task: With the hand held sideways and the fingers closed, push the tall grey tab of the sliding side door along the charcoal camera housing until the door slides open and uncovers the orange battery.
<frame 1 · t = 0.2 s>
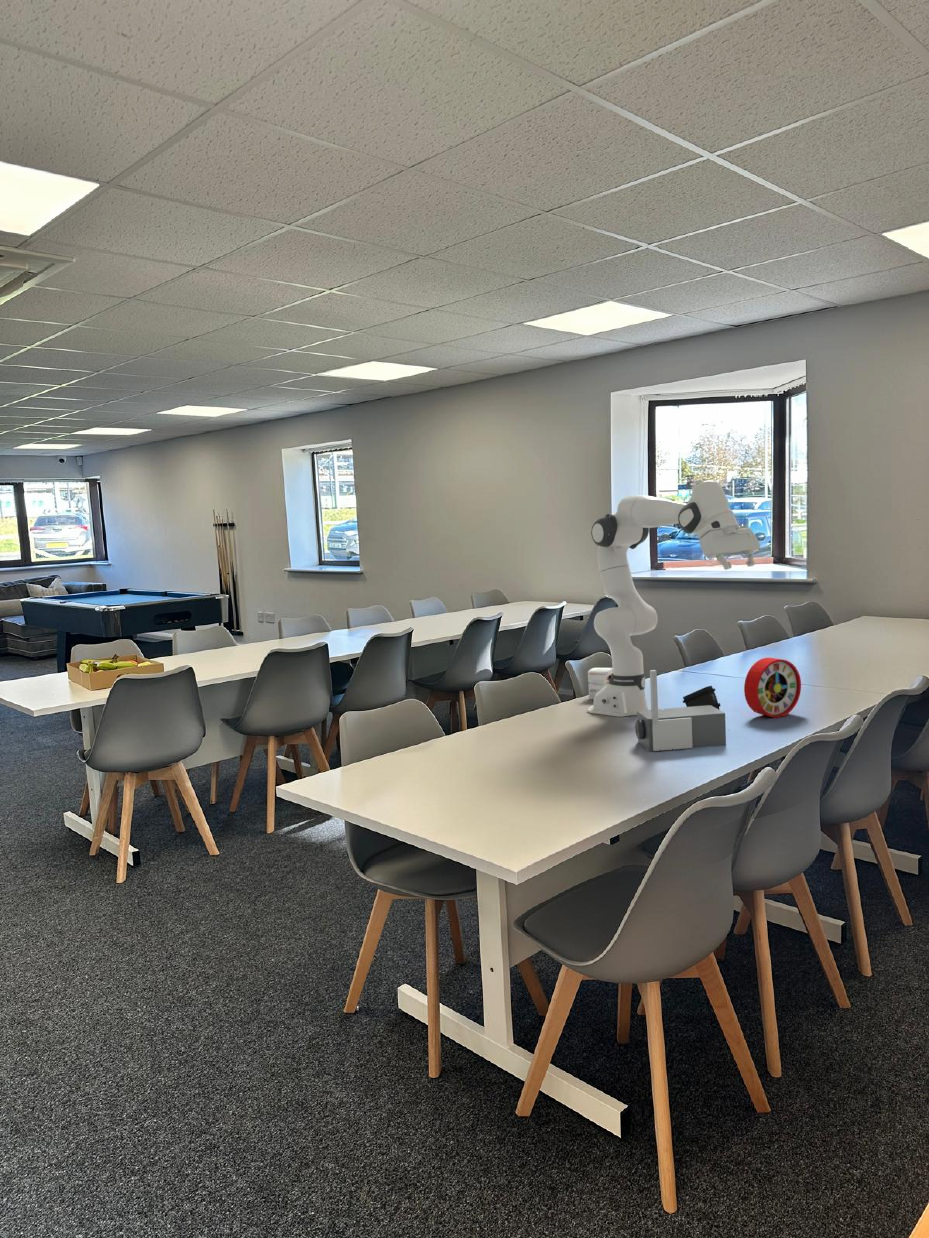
hand: (740, 567, 257), 54 cm above the table, tool tilted 30°, fingers open, 8 cm apart
ink box: (601, 698, 340), on the table
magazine: (703, 730, 279), on the table
toy clock: (773, 716, 293), on the table
camera housing: (681, 743, 265), on the table
door: (671, 709, 256), point 13 cm above the table, slide at 0.0 cm
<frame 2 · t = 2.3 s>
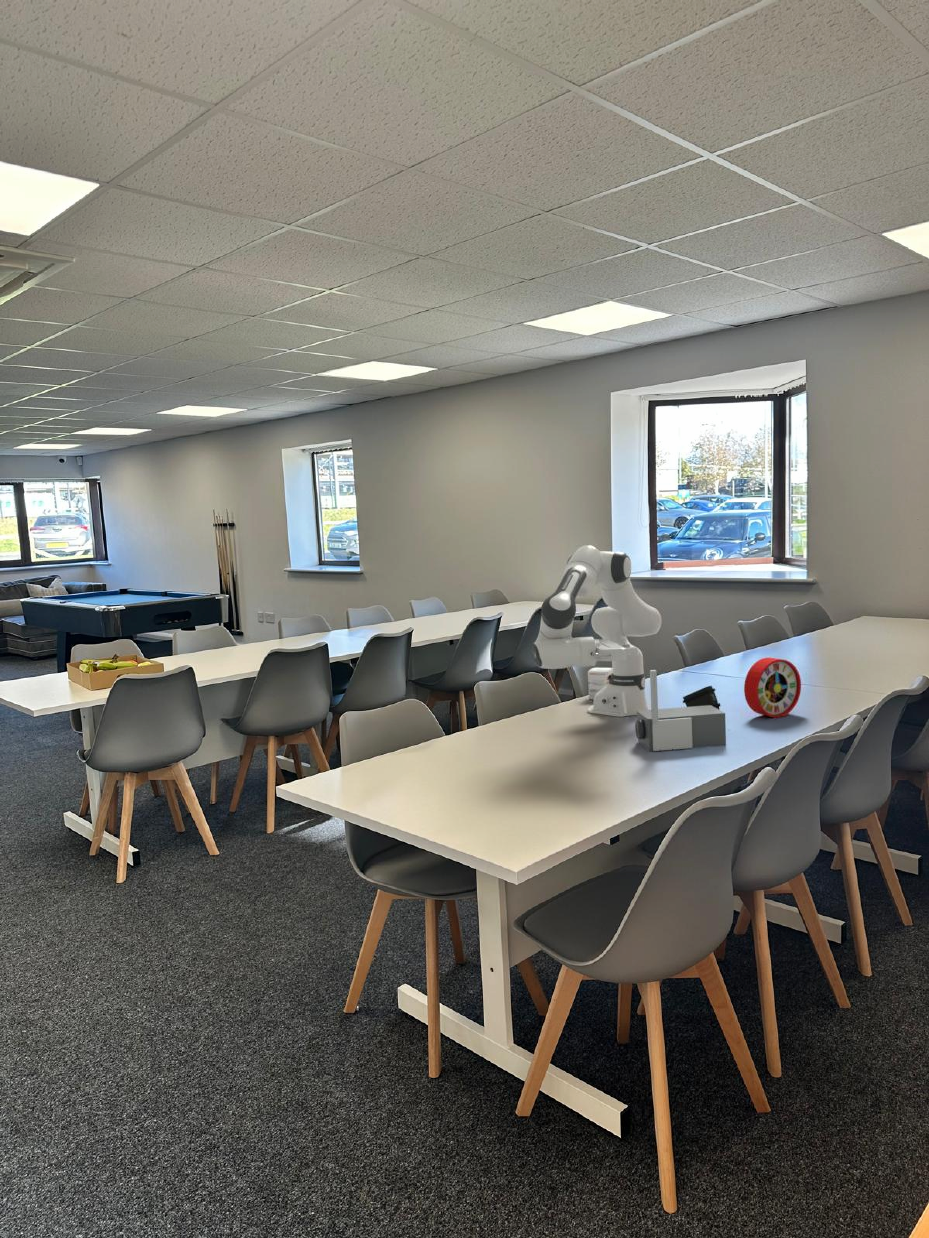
hand: (633, 648, 253), 32 cm above the table, tool horizontal, fingers open, 6 cm apart
nothing on the table moved.
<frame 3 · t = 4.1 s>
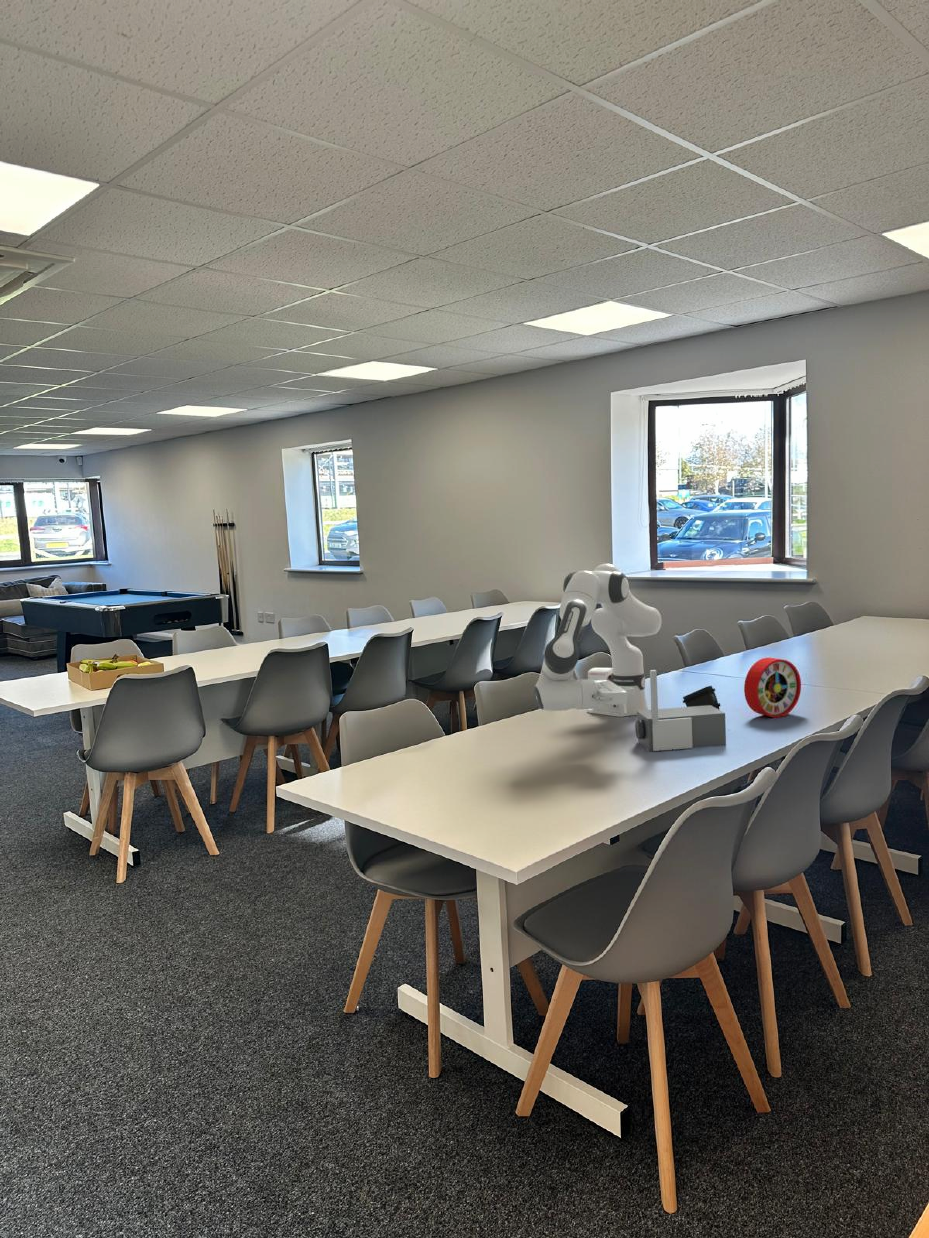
hand: (634, 690, 254), 19 cm above the table, tool horizontal, fingers closed
nothing on the table moved.
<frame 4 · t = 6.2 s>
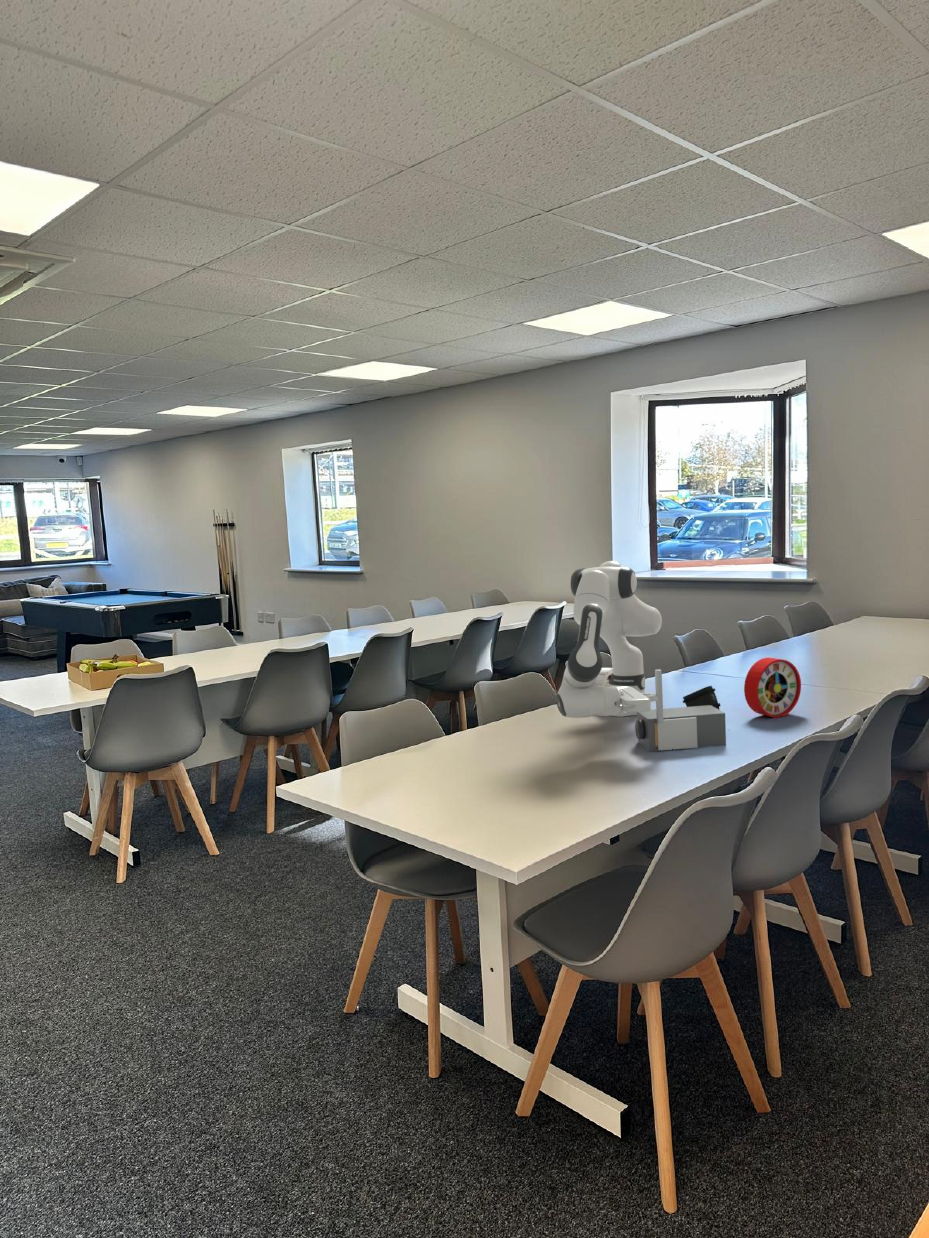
hand: (656, 697, 255), 17 cm above the table, tool horizontal, fingers closed, pressing on door
door: (676, 709, 256), point 13 cm above the table, slide at 1.6 cm, touching gripper
everything else where it was.
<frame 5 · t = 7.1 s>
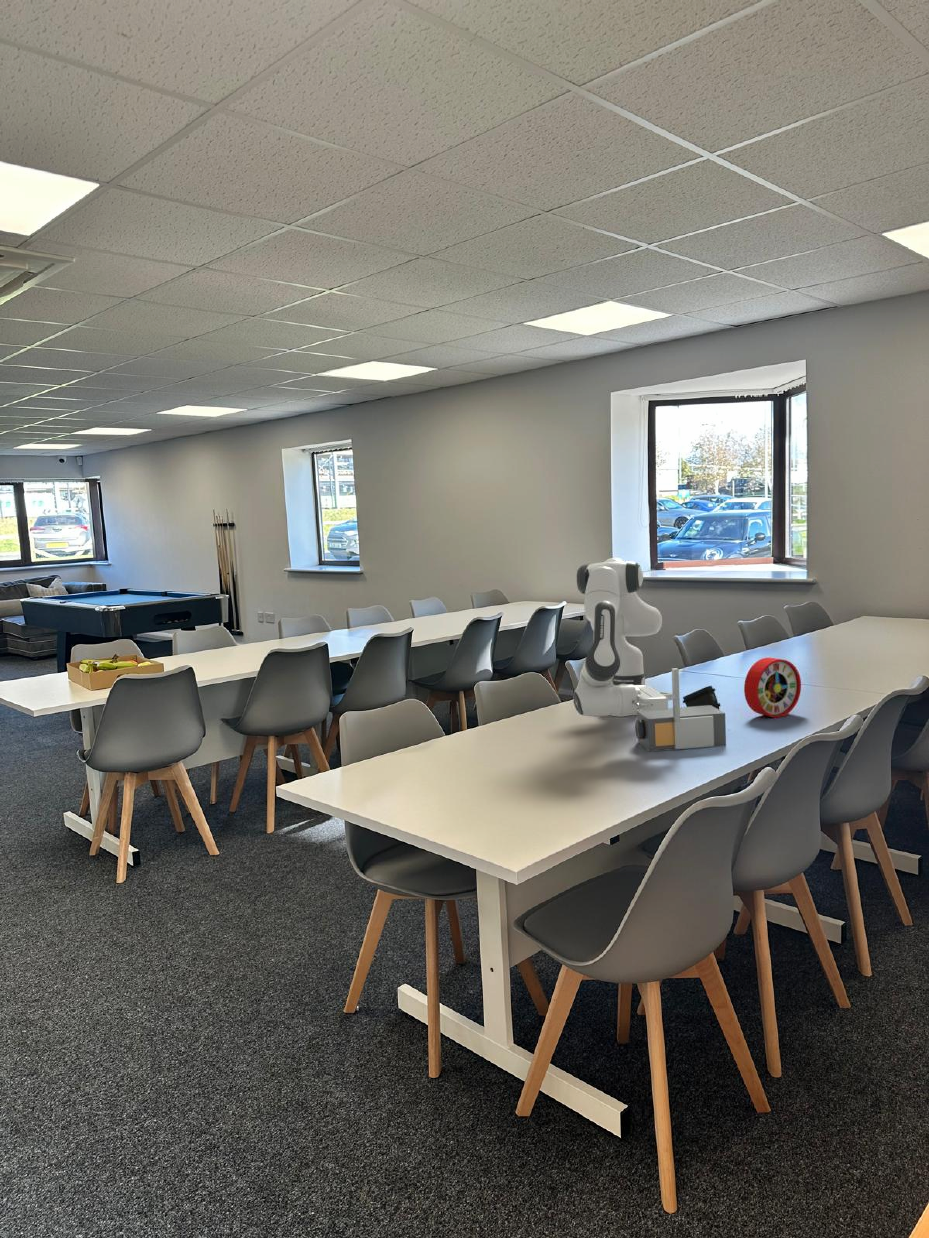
hand: (673, 695, 255), 17 cm above the table, tool horizontal, fingers closed, pressing on door
door: (693, 707, 256), point 13 cm above the table, slide at 6.7 cm, touching gripper
everything else where it was.
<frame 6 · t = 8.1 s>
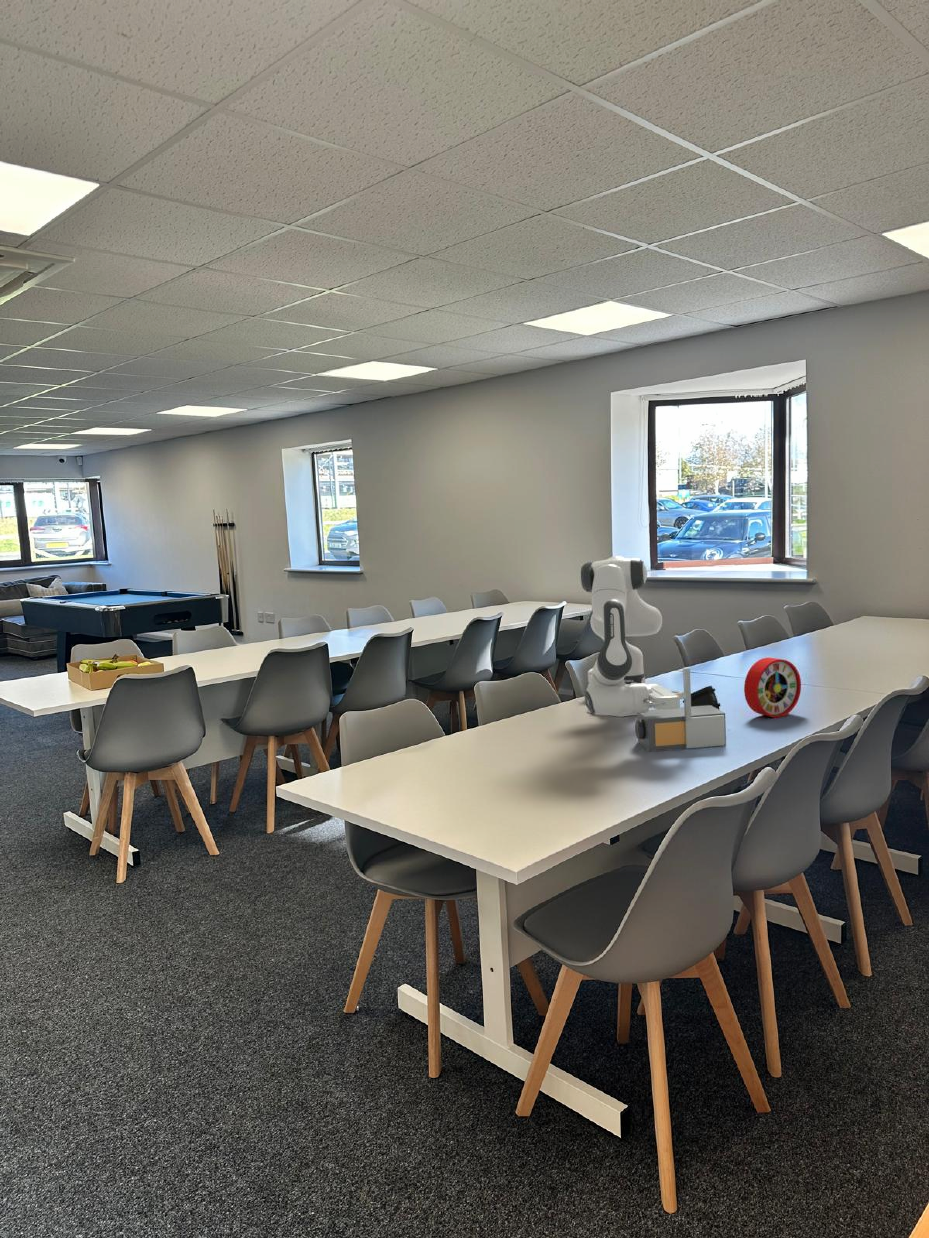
hand: (684, 694, 256), 17 cm above the table, tool horizontal, fingers closed, pressing on door
door: (704, 706, 256), point 13 cm above the table, slide at 10.2 cm, touching gripper
everything else where it was.
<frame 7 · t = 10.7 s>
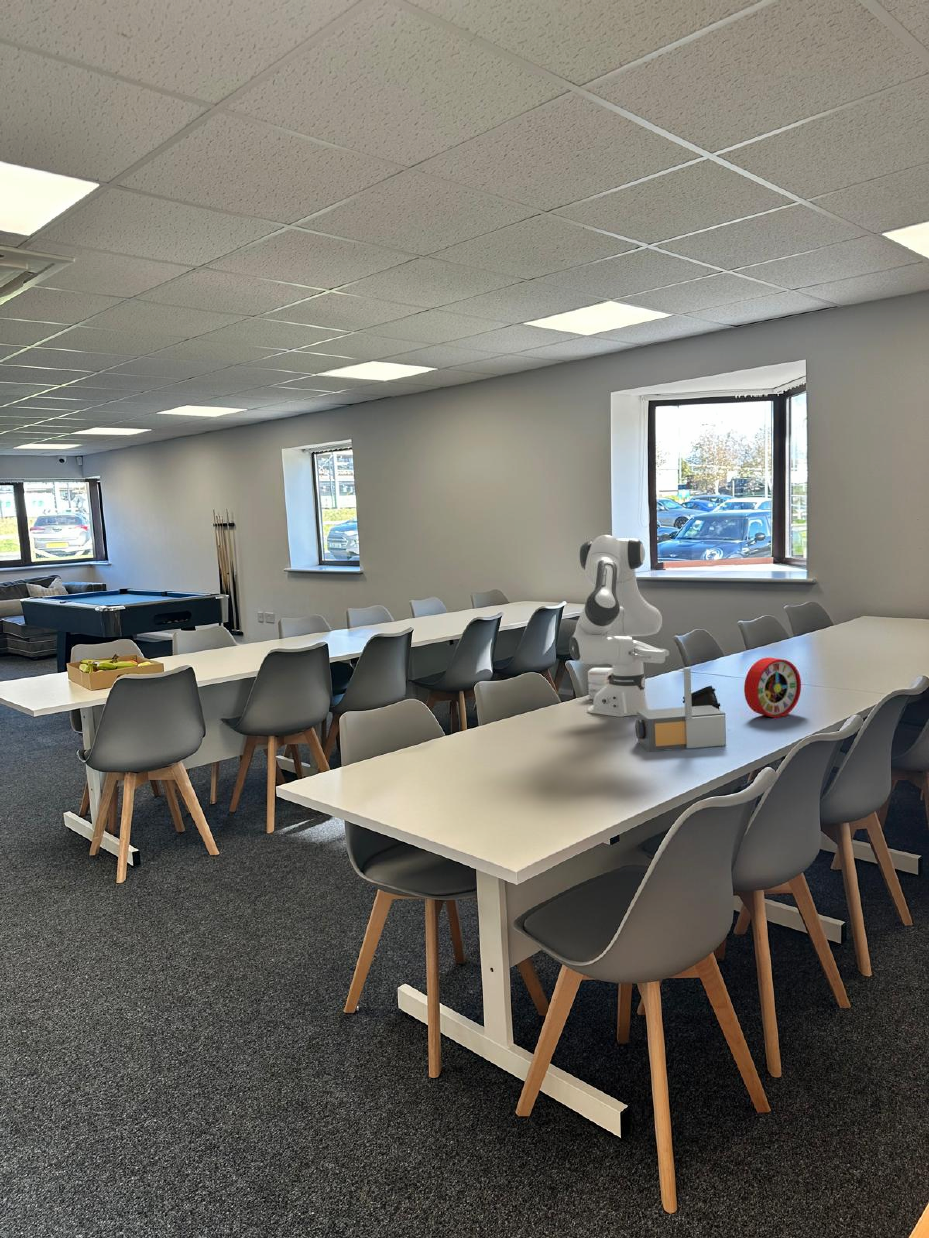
hand: (667, 652, 256), 30 cm above the table, tool horizontal, fingers closed
door: (705, 706, 256), point 13 cm above the table, slide at 10.4 cm
everything else where it was.
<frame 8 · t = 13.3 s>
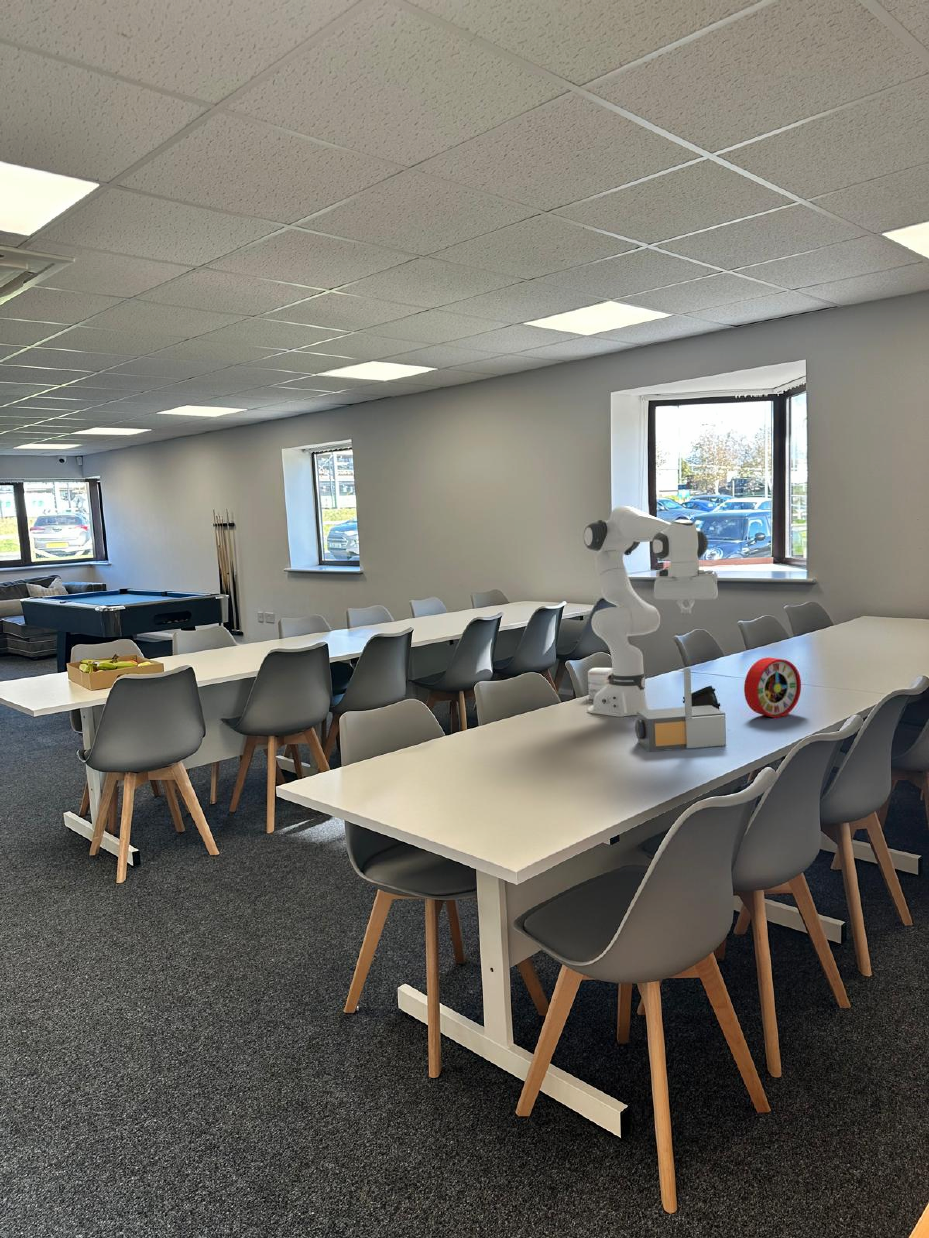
hand: (686, 613, 274), 39 cm above the table, tool pointing down, fingers closed
nothing on the table moved.
at the end: door slide at 10.4 cm; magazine moved 0.3 cm from its start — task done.
